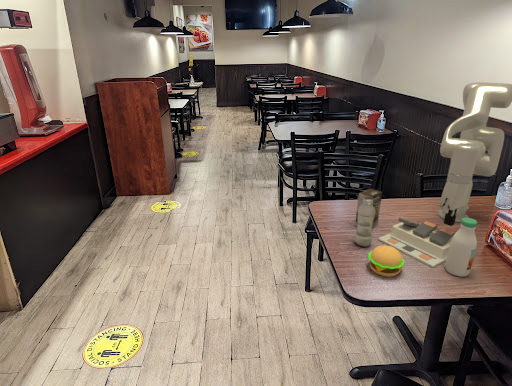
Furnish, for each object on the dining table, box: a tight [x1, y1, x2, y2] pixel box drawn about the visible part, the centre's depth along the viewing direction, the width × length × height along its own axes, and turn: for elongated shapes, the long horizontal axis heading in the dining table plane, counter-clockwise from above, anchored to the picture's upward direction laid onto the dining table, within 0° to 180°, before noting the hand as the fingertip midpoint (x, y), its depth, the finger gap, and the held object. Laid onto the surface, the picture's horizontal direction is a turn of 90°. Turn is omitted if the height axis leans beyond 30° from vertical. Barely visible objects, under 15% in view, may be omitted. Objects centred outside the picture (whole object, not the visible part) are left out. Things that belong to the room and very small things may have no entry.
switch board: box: [377, 222, 452, 269], centre depth 136 cm, size 17×24×5 cm
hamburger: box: [367, 244, 405, 278], centre depth 121 cm, size 12×12×9 cm
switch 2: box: [429, 227, 456, 246], centre depth 131 cm, size 8×5×1 cm, turn 123°
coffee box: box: [354, 188, 383, 229], centre depth 151 cm, size 9×6×16 cm
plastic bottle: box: [354, 197, 375, 247], centre depth 135 cm, size 6×7×20 cm
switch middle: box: [413, 220, 438, 238], centre depth 136 cm, size 8×5×1 cm, turn 123°
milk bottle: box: [444, 217, 478, 278], centre depth 118 cm, size 8×8×20 cm
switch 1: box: [397, 217, 421, 227], centre depth 142 cm, size 8×5×1 cm, turn 123°
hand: (448, 224), depth 130 cm, fingers closed
